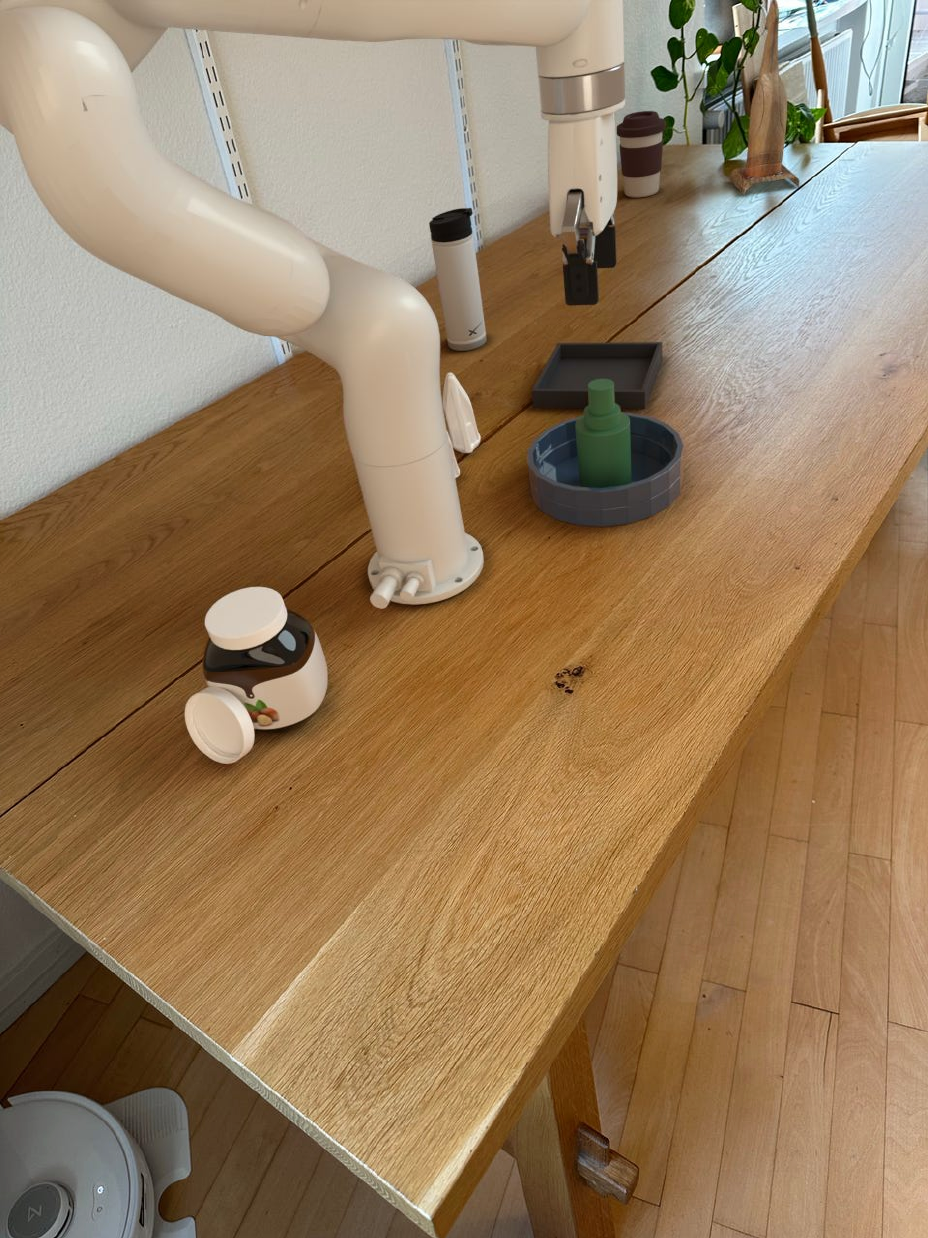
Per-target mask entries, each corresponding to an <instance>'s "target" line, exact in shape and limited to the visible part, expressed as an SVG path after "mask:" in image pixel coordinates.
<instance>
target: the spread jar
mask: <svg viewBox="0 0 928 1238" xmlns="http://www.w3.org/2000/svg"><path fill="white" fill-rule="evenodd" d="M284 601H285V600H284V599H283V597H282V595H281V594H280V593H279V592H278V591H277V590H275V589H272V588H269V587H266V586H265V587H264V586H251V587H244V588H240V589H237V590H235V591H232V592H230V593H228V594H226V595H224V596H222V597H221V598H220V599H218V600H217V601H216V602H215V603H213V604H212V606H211V607H210V608H209V609H208V610H207V612H206V614H205V617H204V627H205V629H206V631H207V633H208V634H207V635H208V638H207V641H206V643H205V647H204V649H203V656H202V673H203V677H204V681H205V683H206V685H207V687H205V688H203V689H201V690H200V691H198V692H196V693H195V694H193V695H192V696H190V697H189V699H188V700H187V701H186V703H185V707H184V722H185V725H186V729H187V732H188V733H189V736H190V738H191V740H192V741H193V743H194V745H196V747H197V748H198V749H199V750H200V751H201V752H202V754H203V755H205V756H206V757H208V758H209V759H211V760H212V761H214V762H216V763H220V764H225V765H229V764H233V763H236V762H237V761H239V760H240V759H242V758H243V757H245V756H246V755H247V754H248V753H250V752H251V750H252V749H253V746H254V743H255V733H257V734H263V735H271V734H272V735H275V734H282V733H286V732H289V731H292V730H295V729H296V728H298V727H300V726H302V725H304V724H305V723H307V722H308V721H310V720H311V719H312V718H313V717H314V716H315V714H316V713H317V712H318V711H319V709H320V708H321V706H322V704H323V702H324V699H325V697H326V694H327V689H328V683H329V682H328V681H329V678H328V677H329V675H328V665H327V661H326V657H325V655H324V654H325V653H324V651H323V647H322V644H321V642H320V639H319V636H318V634H317V632H316V630H315V629H314V627H313V625H312V623H311V622H309V620H307V618H305V617H304V616H303V615H301V614H299V613H298V612H296V611H294V610H292V609H289V608H287V607H286V605H285V602H284Z"/></svg>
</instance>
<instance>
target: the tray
mask: <svg viewBox="0 0 928 1238" xmlns="http://www.w3.org/2000/svg"><path fill="white" fill-rule="evenodd" d="M662 363H663V341H648V342H647V341H645V342H644V341H643V342H642V341H639V342H638V341H637V342H636V341H635V342H631V341H629V342H627V341H626V342H624V341H623V342H621V341H620V342H557V344H556V345H555V347H554V349H553V351H552V352H551V355H550V356H549V358H548V360H547V362H546V363H545V365H544V367H543V369H542V371H541V373H540V375H539V376H538V378H537V380H536V382H535V383H534V385H533V387H532V389H531V400H532V407H533V408H553V409H554V408H558V409H559V408H561V409H585V408H586V407H587V406H588V405H589V401H588V384H589V383H590V382H591V381H593V380H596V379H609V380H612V381H613V382H614V399H615V403H616V404H618V405H619V406H620V410H645V409H646V408H647V406H648V404H649V401H650V398H651V396H652V392H653V389H654V386H655V384H656V381H657V377H658V375H659V372H660V369H661V365H662Z"/></svg>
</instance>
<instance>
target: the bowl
mask: <svg viewBox="0 0 928 1238" xmlns="http://www.w3.org/2000/svg"><path fill="white" fill-rule="evenodd" d="M624 413H625V414H626V415H627V416H628V417H629V419H630V440H631V480H632V483H630V484H627V485H622V486H614V487H606V488H590V487H580V485H579V471H578V456H577V442H576V427H575V424H576V421H577V420H578V418H580V417H581V416H582V415H580V416H577V417H574V418H569V419H566V420H563V421H561V422H559V423H556V424H554V425H553V426H551V427H549V428H546V429H544V431H542V432H541V433H540V434H539V435H538V436H537V437H535V438H534V440H532V442H531V444H530V446H529V447H528V449H527V452H526V458H527V469H528V470H527V471H528V479H529V486H530V495H531V496H530V497H531V500H532V501H533V503H534V504H535V505H536V506H537V508H538V509H539V510H540V511H541V512H542V513H544V514H546V515H548V516H549V517H551V518H552V519H554V520H556V521H560V522H563V523H567V524H571V525H575V526H582V527H596V528H597V527H598V528H604V527H605V528H607V527H613V526H614V527H615V526H622V525H628V524H633V523H635V522H639V521H642V520H645V519H648V518H651V517H653V516H655V515H656V514H658V513H659V512H662V511H664V510H665V509H667V508H668V507H670V506H671V505H672V504H673V502H674V501H675V500H676V499H677V498H678V497H679V495H680V494H681V491H682V487H683V483H684V457H685V455H684V454H685V453H684V452H685V446H684V443H683V440H682V437H681V434H680V433H679V432H678V431H677V430H676V429H675V428H673V427H672V426H671V425H669V423H667V422H665V421H662V420H660V419H657V418H655V417H653V416H650V415H645V414H640V413H639V414H638V413H632V412H624Z"/></svg>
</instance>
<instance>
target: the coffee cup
mask: <svg viewBox="0 0 928 1238" xmlns="http://www.w3.org/2000/svg"><path fill="white" fill-rule="evenodd" d="M666 122H667V121H666V119H664V118H662V117H660V116H659V113H658V112H657V111H654V110H644V111H643V110H642V111H634V112H631V113H628V114H625V116H624V117H623V120H622V122H621V123H619V124H617V126H616V137H619V157H620V166H621V175H622V178H623V191H624V195H625V196H626V197H629V198H637V199H638V198H646V197H650V196H653V195H655V194H657V193H658V192H659V191H660V178H661V171H662V166H663V165H662V164H663V163H662V162H663V148H664V147H663V146H664V139H663V132H664V131H665V130H666V128H667V127H666V125H667V123H666Z"/></svg>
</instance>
